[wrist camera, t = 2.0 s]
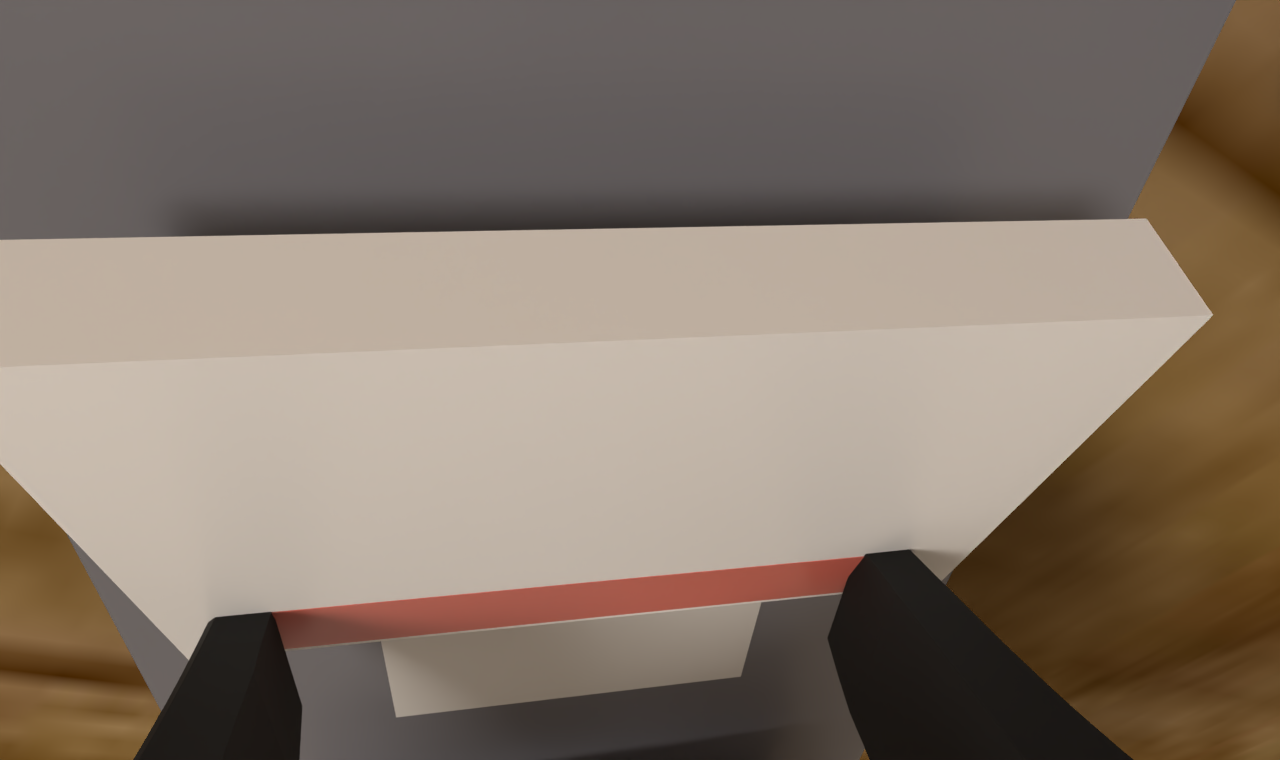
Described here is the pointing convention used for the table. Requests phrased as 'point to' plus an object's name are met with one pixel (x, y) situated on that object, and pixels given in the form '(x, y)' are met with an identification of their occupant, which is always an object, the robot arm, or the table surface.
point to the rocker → (558, 410)
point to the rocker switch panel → (577, 199)
